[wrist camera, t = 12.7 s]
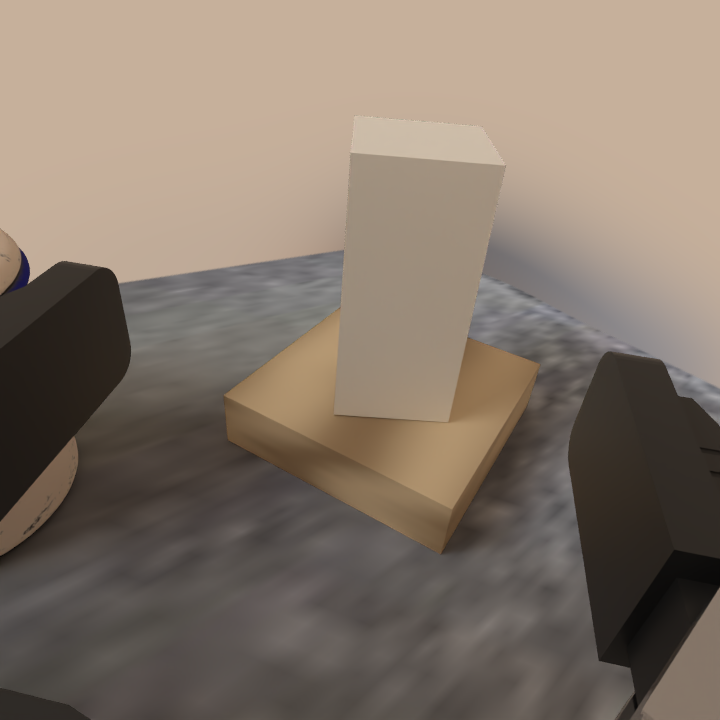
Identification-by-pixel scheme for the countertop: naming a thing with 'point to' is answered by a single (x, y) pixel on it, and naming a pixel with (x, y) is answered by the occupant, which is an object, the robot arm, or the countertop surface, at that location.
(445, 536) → the base slab
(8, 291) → the teacup with lid
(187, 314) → the countertop surface
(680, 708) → the robot arm
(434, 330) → the pillar
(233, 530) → the countertop surface
